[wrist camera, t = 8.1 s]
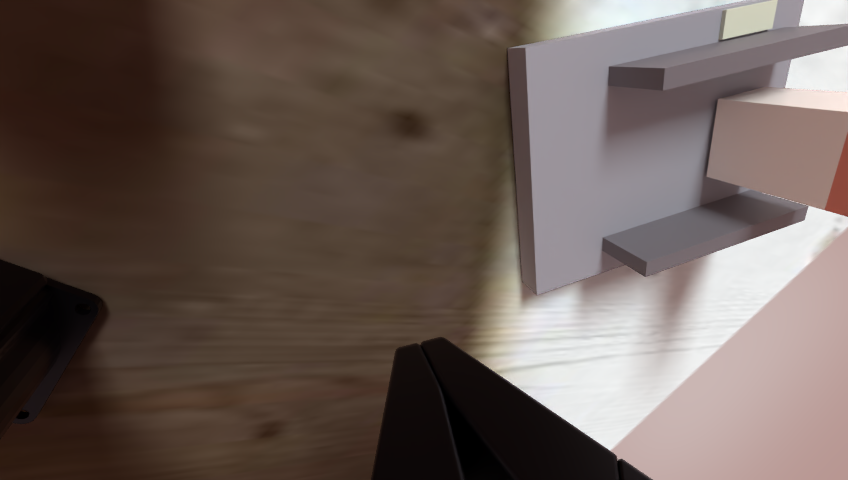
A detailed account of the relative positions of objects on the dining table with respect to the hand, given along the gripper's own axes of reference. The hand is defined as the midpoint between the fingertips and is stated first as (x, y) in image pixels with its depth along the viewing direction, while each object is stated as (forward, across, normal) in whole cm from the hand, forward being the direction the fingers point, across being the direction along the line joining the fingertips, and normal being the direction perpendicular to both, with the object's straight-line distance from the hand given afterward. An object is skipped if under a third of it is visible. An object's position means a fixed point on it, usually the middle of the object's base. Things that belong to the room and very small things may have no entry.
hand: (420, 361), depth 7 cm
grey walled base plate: (+13, -16, +1) cm, 20 cm away
